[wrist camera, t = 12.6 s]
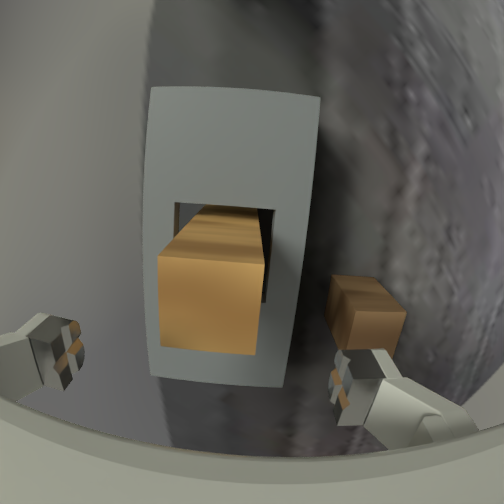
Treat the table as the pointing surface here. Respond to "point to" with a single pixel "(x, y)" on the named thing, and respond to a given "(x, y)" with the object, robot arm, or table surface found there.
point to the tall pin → (212, 282)
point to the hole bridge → (230, 194)
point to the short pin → (363, 314)
